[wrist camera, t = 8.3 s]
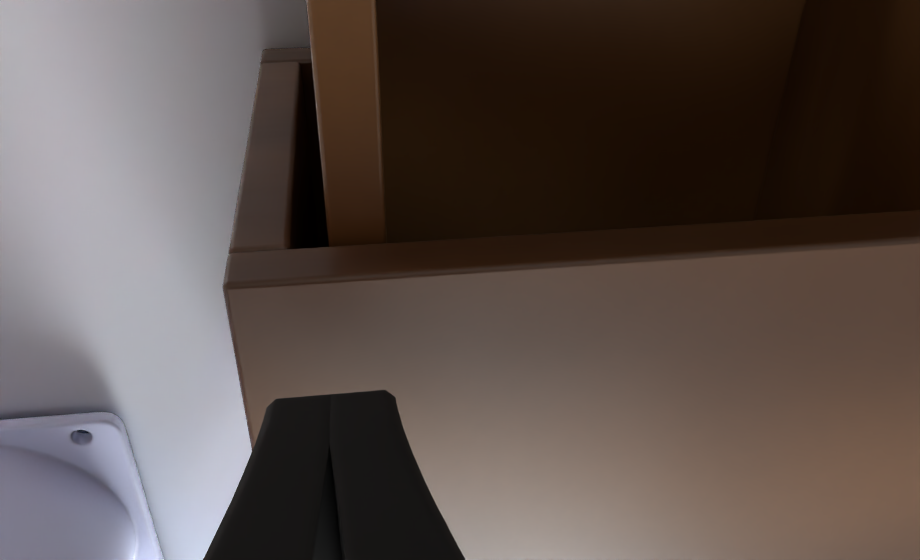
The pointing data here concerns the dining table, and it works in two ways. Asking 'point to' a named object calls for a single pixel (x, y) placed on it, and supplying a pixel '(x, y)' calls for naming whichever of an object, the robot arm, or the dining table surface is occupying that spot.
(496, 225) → the drawer
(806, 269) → the cabinet
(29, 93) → the dining table surface
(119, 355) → the dining table surface
